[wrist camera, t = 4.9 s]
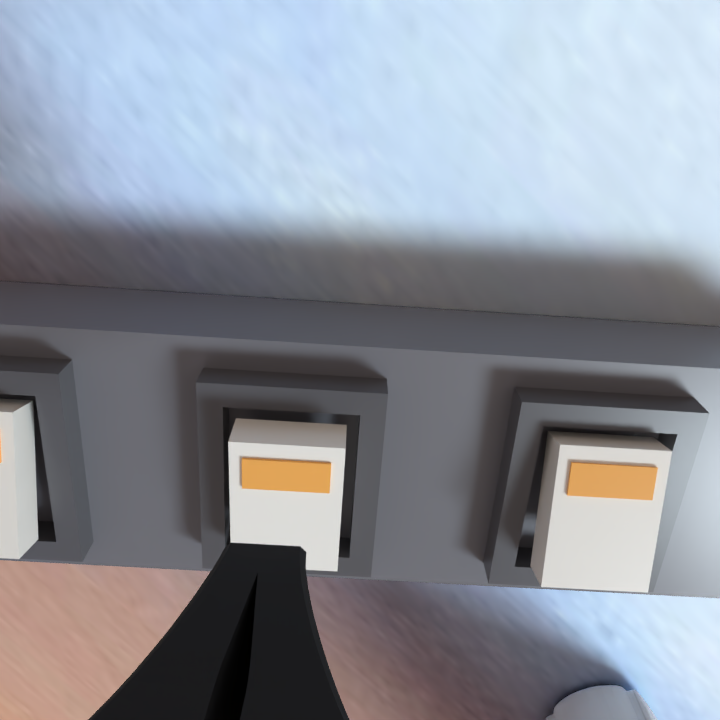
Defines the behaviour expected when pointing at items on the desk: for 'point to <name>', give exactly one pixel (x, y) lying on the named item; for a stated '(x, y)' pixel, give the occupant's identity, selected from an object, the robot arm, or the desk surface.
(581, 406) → the rocker switch panel
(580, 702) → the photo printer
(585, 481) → the rocker
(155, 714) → the robot arm
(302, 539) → the middle rocker
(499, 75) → the desk surface
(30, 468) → the rocker
